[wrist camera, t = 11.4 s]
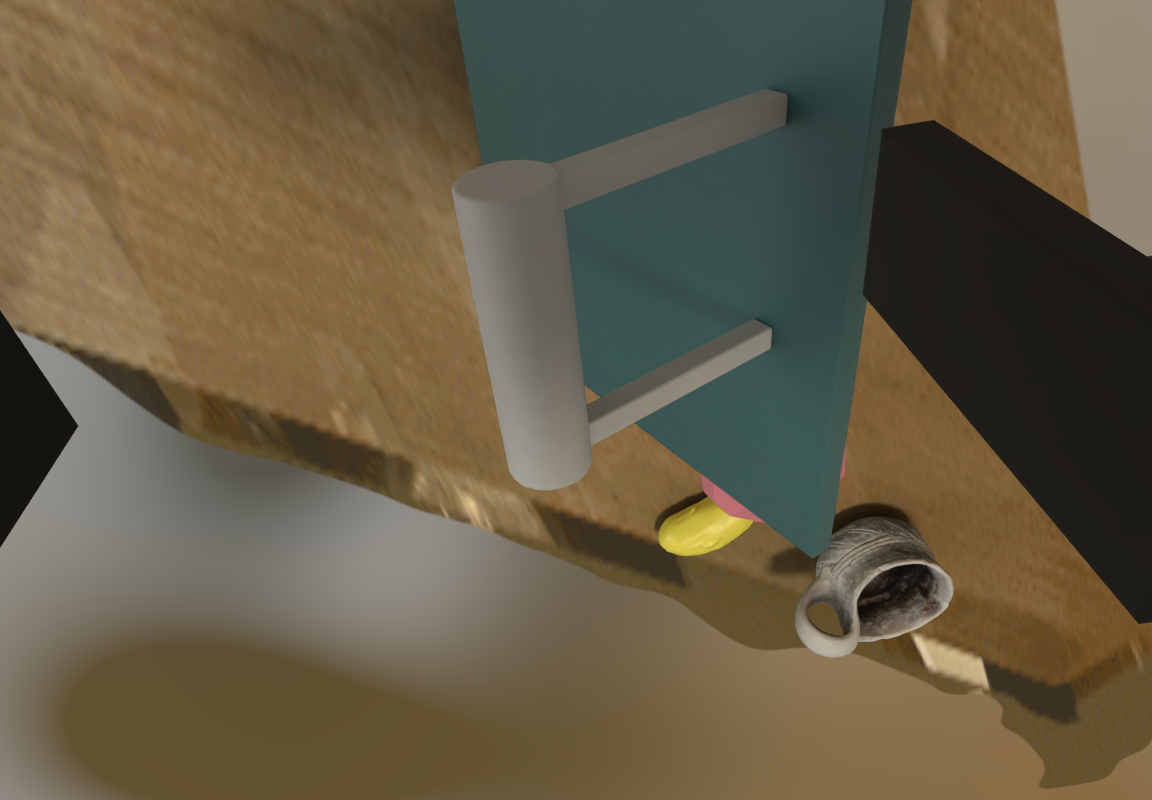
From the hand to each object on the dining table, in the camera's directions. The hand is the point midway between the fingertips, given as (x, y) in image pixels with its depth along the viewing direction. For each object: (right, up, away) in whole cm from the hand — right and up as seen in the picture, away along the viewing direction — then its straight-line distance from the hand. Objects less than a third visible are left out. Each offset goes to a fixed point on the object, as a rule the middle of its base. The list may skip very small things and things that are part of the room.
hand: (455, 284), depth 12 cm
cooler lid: (+4, +6, +12) cm, 14 cm away
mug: (+24, -14, +54) cm, 61 cm away
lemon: (+12, -10, +49) cm, 52 cm away
